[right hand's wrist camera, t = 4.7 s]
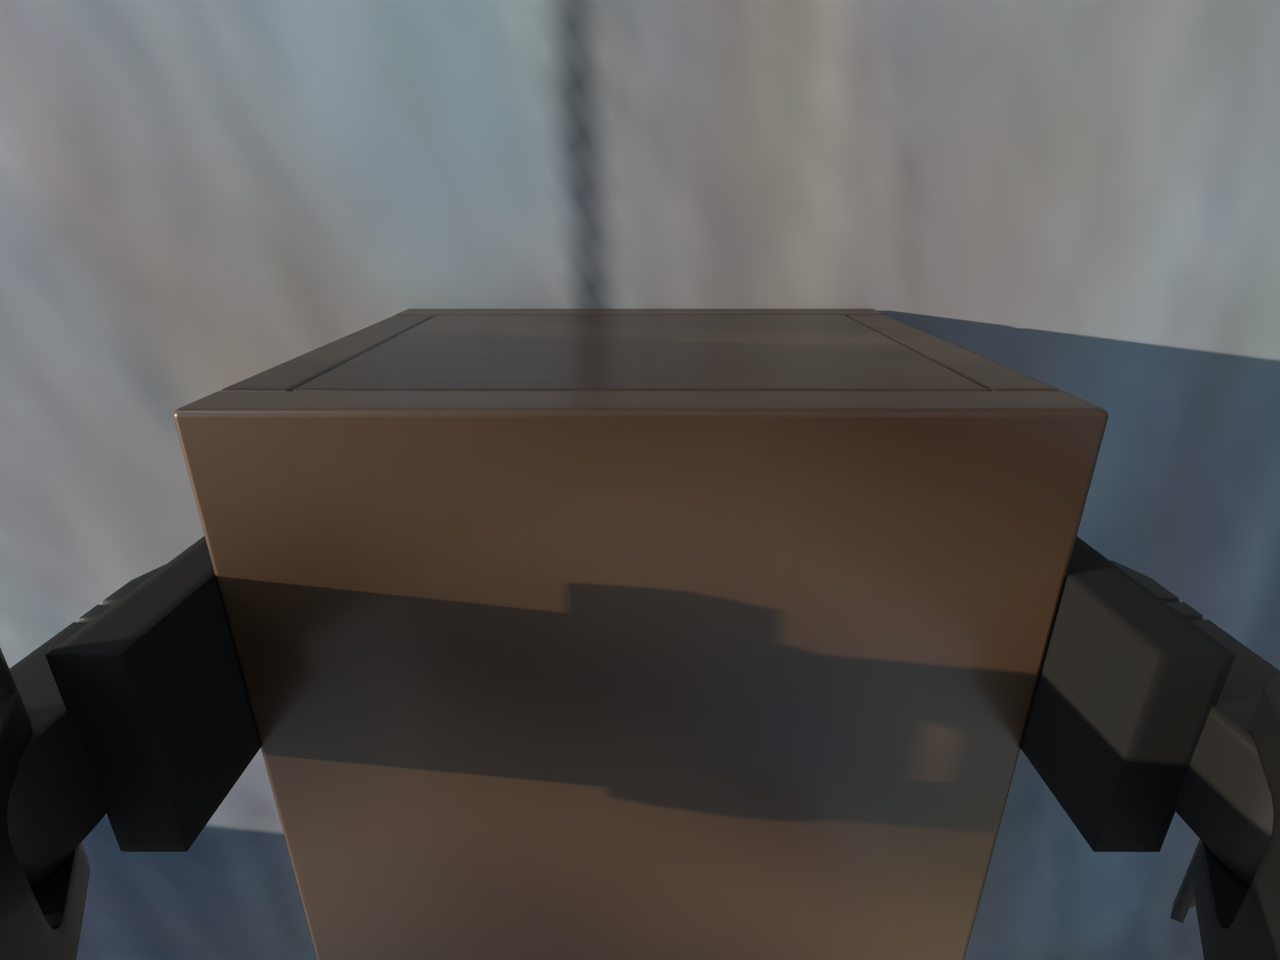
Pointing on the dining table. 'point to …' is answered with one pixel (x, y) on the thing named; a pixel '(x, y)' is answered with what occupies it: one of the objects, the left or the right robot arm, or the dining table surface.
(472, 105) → the dining table surface
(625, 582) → the cabinet
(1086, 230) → the dining table surface
